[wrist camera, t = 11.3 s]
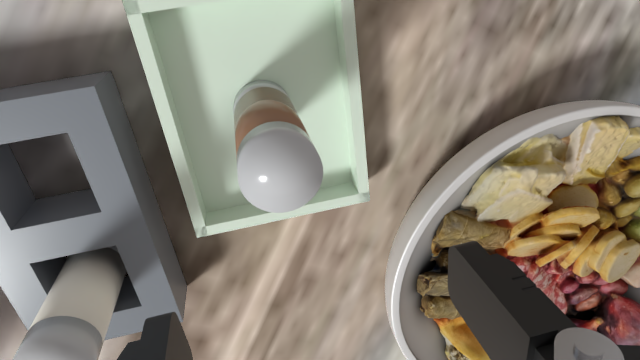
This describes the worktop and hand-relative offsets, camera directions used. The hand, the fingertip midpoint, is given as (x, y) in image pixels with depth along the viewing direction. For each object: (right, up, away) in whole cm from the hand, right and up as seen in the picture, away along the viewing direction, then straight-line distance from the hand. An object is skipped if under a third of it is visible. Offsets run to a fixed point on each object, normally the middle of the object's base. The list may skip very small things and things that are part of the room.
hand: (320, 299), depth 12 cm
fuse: (-17, -2, +20) cm, 26 cm away
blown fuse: (-4, +8, +17) cm, 20 cm away
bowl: (+19, -2, +29) cm, 35 cm away
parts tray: (-4, +9, +18) cm, 20 cm away
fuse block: (-17, +2, +18) cm, 25 cm away
